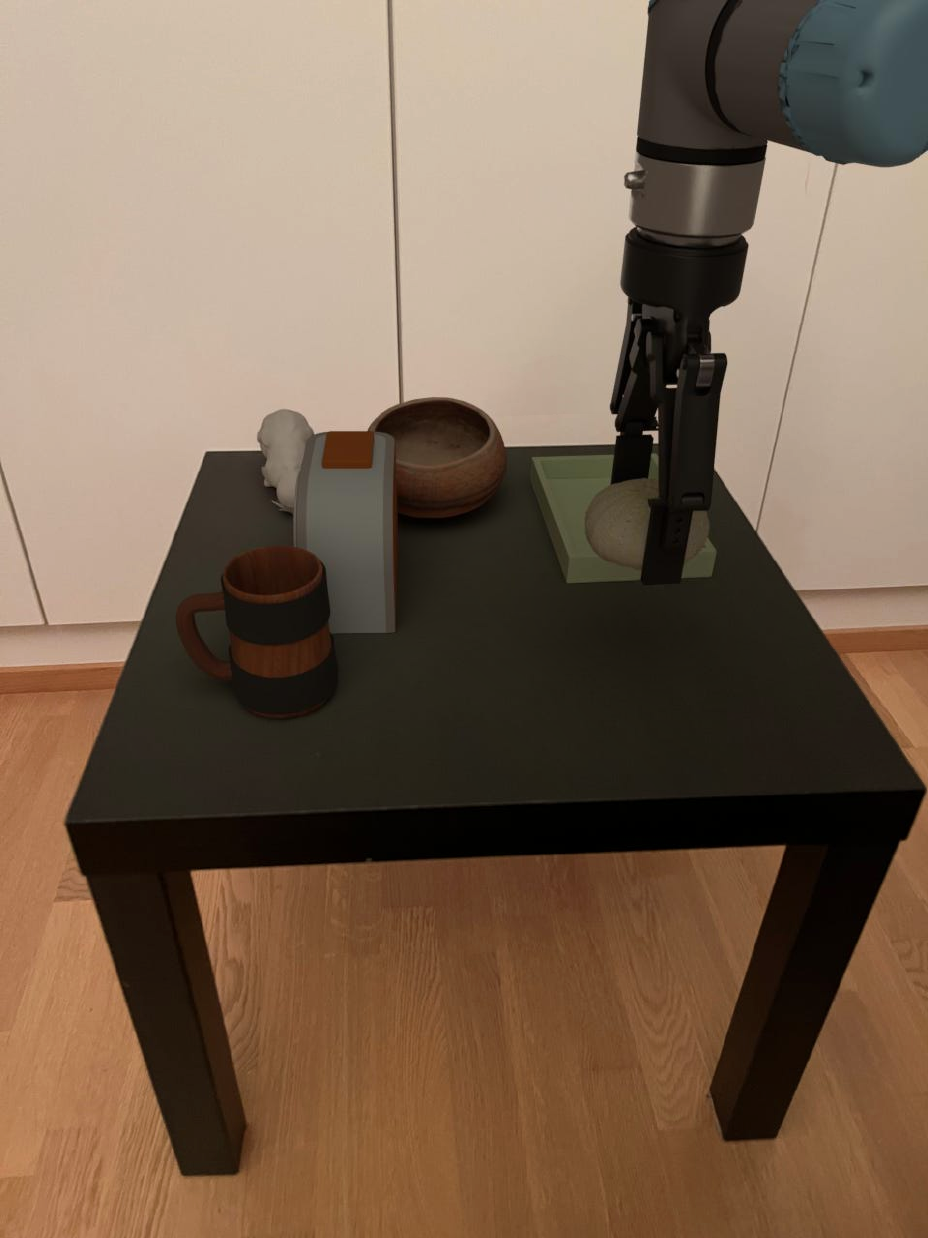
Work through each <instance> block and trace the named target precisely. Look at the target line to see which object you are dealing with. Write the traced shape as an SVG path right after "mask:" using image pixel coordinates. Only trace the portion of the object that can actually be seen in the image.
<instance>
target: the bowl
mask: <svg viewBox="0 0 928 1238" xmlns="http://www.w3.org/2000/svg"><path fill="white" fill-rule="evenodd" d="M367 431H372V432H382V433H386V434H389V435H391V436H392V437H393V438H394V439H395V442H396V480H397V514H398V513H399V514H402V515H404V516H407V517H412V518H418V519H419V518H421V519H442V518H443V519H445V518H451V517H456V516H460V515H462V514H463V515H464V514H466V513H469V512H471V511H473V510H475V509H478V508H479V507H481V506H482V505H484V504H485V503H486V502H487V501H488V500H489V499H491V498H492V497H493V495H494V494H495V493H496V490H497V489H498V488H499V487H500V485H501V483H502V482H503V480H504V478H505V476H506V474H507V468H508V457H507V451H506V446H505V442H504V439H503V437H502V434H501V432H500V430H499V428H498V426H497V425H496V422H495V421H494V419H492V418H491V416H490V415H489V414H488V413H487V412H485V411H484V410H483V409H481V408H479V407H478V406H476V405H475V404H472V403H470V402H467V401H465V400H462V399H457V398H454V397H447V396H446V397H445V396H430V397H422V398H421V397H420V398H414V399H410V400H407V401H404V402H400V403H397V404H395V405H392V406H391V407H388V408H387V409H385V410H384V411H382V412H380V414H379V415H378V416H377V417H376V418H375V419H374V420H373V421H372V422H371V424H370V425H369V427H368V429H367Z"/></svg>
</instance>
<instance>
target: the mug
mask: <svg viewBox="0 0 928 1238" xmlns="http://www.w3.org/2000/svg"><path fill="white" fill-rule="evenodd" d="M220 586H221V591H219V592H218V591H217V592H209V593H207V592H206V593H196V594H192V595H189V596H187V597H185V598H184V599H183V600H182V601H180V603H179V605H178V607H177V608H176V613H175V627H176V630H177V634H178V636H179V639H180V642H181V644H182V646H183V648H184V650H185V651H186V653H187V655H188V656H189V658H190V660H191V661H192V662H193V664H195V666H196V667H197V668H198V669H199V670H200V671H201V672H203V673H204V674H206V675H207V676H209V677H210V678H213V679H216V680H220V681H231V683H232V691H233V693H234V696H235V697H236V699H237V701H239V702H240V704H241V705H243V706H244V707H245V708H246V709H248V710H249V711H250V712H252V713H254V714H256V715H258V716H260V717H264V718H268V719H275V720H276V719H277V720H278V719H279V720H281V719H283V720H284V719H285V720H286V719H293V718H297V717H298V718H299V717H302V716H305V715H308V714H310V713H312V712H314V711H316V710H317V709H319V708H321V706H323V705H324V704H325V703H326V702H327V701H328V700H329V698H330V696H331V695H332V694H333V692H334V691H335V690H336V687H337V685H338V682H339V667H338V660H337V659H338V658H337V652H336V646H335V640H334V637H333V633H330V631H329V622H328V620H329V617H330V612H331V611H330V603H329V596H328V587H327V577H326V569H325V566H324V564H323V563H322V562H321V561H320V560H319V559H318V558H317V557H316V556H315V555H314V554H313V553H311V552H309V551H307V550H304V549H301V548H297V547H294V546H291V545H268V546H262V547H257V548H253V549H249V550H246V551H243V552H242V553H240V554H238V555H237V556H234V557H233V558H232V559H230V561H228V563H226V565H225V567H224V569H223V571H222V574H221V576H220ZM217 611H218V612H219V611H224V612H225V624H226V627H227V629H228V633H229V638H230V639H229V641H230V644H229V647H228V657H229V659H228V660H222V659H219V658H217V657H216V656H215V654H213V652H212V651H211V650H210V649H209V647H208V646H207V644H206V643H205V640H204V639H203V637H202V636H201V633H200V632H199V629H198V626H197V622H196V617H195V614H197V613H203V612H205V613H206V612H217Z"/></svg>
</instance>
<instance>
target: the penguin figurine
mask: <svg viewBox="0 0 928 1238" xmlns="http://www.w3.org/2000/svg"><path fill="white" fill-rule="evenodd" d="M314 431H315V430H314V429H313V428H312V426H310V425H309V422H308V420H307V418H306V417H305V415H303V414H302V413H300V412H299V411H295V410H293V409H292V410H291V409H288V408H281V409H278V410H274V411H273V412H271V413H268V414H267V415H265V416H264V418H262V422H261V425H260V428H259V430H258V431H257V434H256V441H257V443H259V447H260V451H261V453H262V454H263V456H264V457H265V458H266V462H265V465H264V466H262V467H261V474H262V476H263V477H264V480H263V485H264V487H265V488H271V487H273V488H275V489H276V498H277V501H274V500H272V499H271V500H270V501H271V502H272V503H273V504H275V505H277V506H278V507H279V509H278V510H279V511H283V512H287V513H290V514H292V515H294V495H295V485H296V479H297V475H298V472H299V471H300V469H301V465H302V460H303V456H304V451H305V447H306V442H307V440H308V438H309V437H311V436H312V435H314V434H315V432H314Z"/></svg>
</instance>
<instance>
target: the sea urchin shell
mask: <svg viewBox="0 0 928 1238" xmlns="http://www.w3.org/2000/svg"><path fill="white" fill-rule="evenodd" d="M658 496H659V479H657V478H656V479H647V478H642V479H632V480H630V481H629V480H627V481H623V482H621V483H615V484H612V485H608V487H605V488H604V489H603V490H601V491H600V492H598V494H596V495H595V497H594V499H593V500H592V502H591V503H590V505H589V506H588V509H587V510H586V512H585V514H586V515H585V534H586V539H587V540H588V542H589V544H590V546H591V548H592V550H593V551H594V553H596V554H597V555H598V556H599V557H601V558H602V559H603V560H604V561H609V562H612V563H615V564H618V565H619V566H625V567H631V568H634V569H636V570H641V571H642V565H643V558H644V552H645V545H646V538H647V532H648V525H649V518H650V511H651V508H650V507H649V505H648V499H652V498H658ZM710 525H711V523H710V520H709V517H708V512H707V511H693V516H692V521H691V527H690V532H689V538H688V544H687V549H686V555H685V560H684V564H686V562H690V560H691V559H693V558H694V556H695V555H697V554H698V553H699V552H700V551H702V548H703V546H705V543H706V539H707V537H708V538H709V534H710V529H711V527H710Z"/></svg>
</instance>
